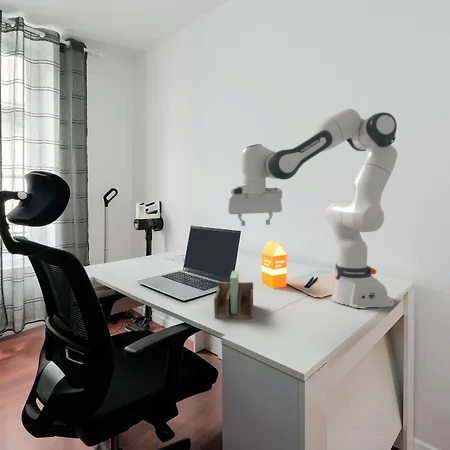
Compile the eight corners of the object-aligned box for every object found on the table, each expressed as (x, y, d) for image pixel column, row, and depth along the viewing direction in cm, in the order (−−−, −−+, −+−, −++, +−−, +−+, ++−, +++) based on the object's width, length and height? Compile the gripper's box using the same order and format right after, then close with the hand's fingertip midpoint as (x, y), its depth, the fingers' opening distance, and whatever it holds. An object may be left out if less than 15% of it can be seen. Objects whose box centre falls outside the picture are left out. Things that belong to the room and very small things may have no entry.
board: (238, 304, 126) (238, 271, 124) (237, 313, 117) (236, 277, 115) (232, 304, 126) (232, 271, 124) (230, 313, 117) (230, 277, 115)
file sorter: (253, 304, 127) (253, 282, 126) (252, 318, 114) (252, 293, 113) (218, 304, 128) (218, 282, 127) (214, 318, 116) (213, 293, 114)
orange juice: (272, 288, 146) (272, 244, 144) (261, 283, 154) (261, 241, 151) (286, 285, 150) (287, 242, 147) (275, 280, 158) (275, 239, 155)
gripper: (281, 187, 126) (282, 222, 128) (228, 189, 128) (229, 224, 130) (282, 187, 120) (283, 225, 122) (226, 190, 122) (228, 227, 124)
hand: (255, 225), depth 126 cm, fingers open, 8 cm apart
